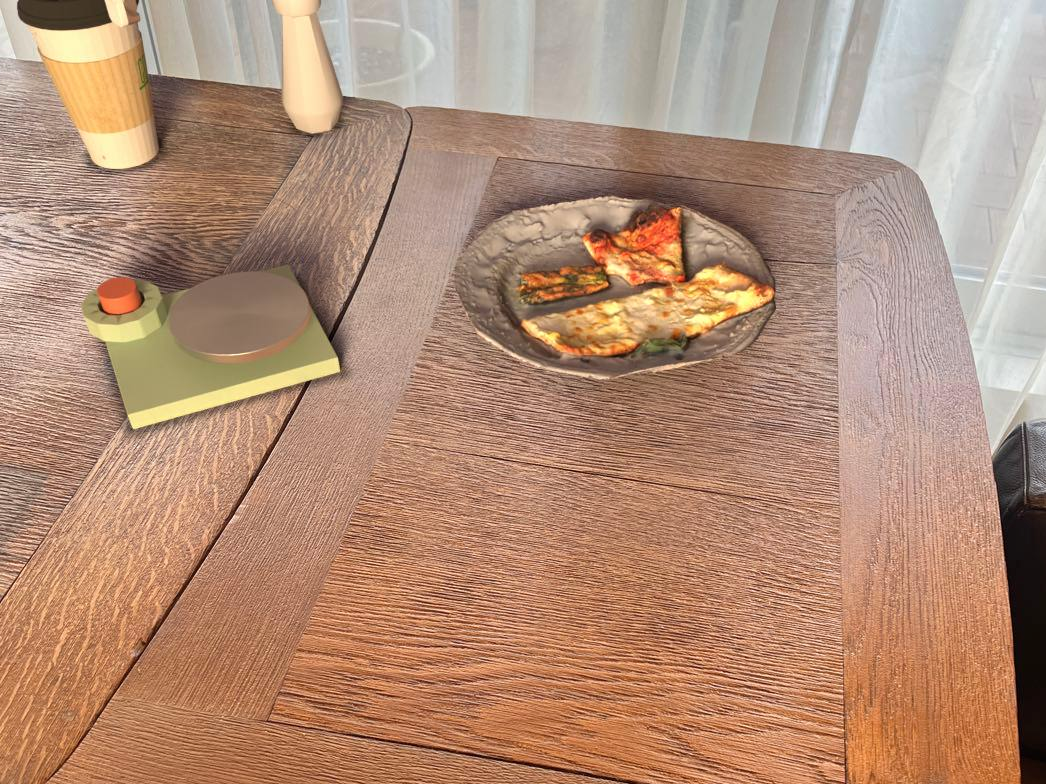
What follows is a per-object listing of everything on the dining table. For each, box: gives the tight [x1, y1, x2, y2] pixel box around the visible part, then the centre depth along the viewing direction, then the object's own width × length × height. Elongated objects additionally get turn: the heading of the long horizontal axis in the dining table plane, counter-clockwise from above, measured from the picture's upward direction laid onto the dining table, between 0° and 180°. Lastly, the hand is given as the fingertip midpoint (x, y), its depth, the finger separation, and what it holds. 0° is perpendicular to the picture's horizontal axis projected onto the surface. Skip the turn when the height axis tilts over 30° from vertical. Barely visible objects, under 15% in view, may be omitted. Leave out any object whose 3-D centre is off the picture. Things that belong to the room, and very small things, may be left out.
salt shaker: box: [271, 0, 344, 135], centre depth 96 cm, size 6×6×13 cm
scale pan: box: [168, 271, 311, 364], centre depth 75 cm, size 10×10×1 cm
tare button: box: [96, 276, 142, 316], centre depth 76 cm, size 3×3×2 cm
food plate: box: [453, 195, 777, 381], centre depth 80 cm, size 25×23×4 cm
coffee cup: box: [16, 0, 160, 170], centre depth 91 cm, size 10×10×15 cm
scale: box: [80, 264, 341, 430], centre depth 77 cm, size 16×14×3 cm
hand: (183, 4), depth 76 cm, fingers open, 8 cm apart
